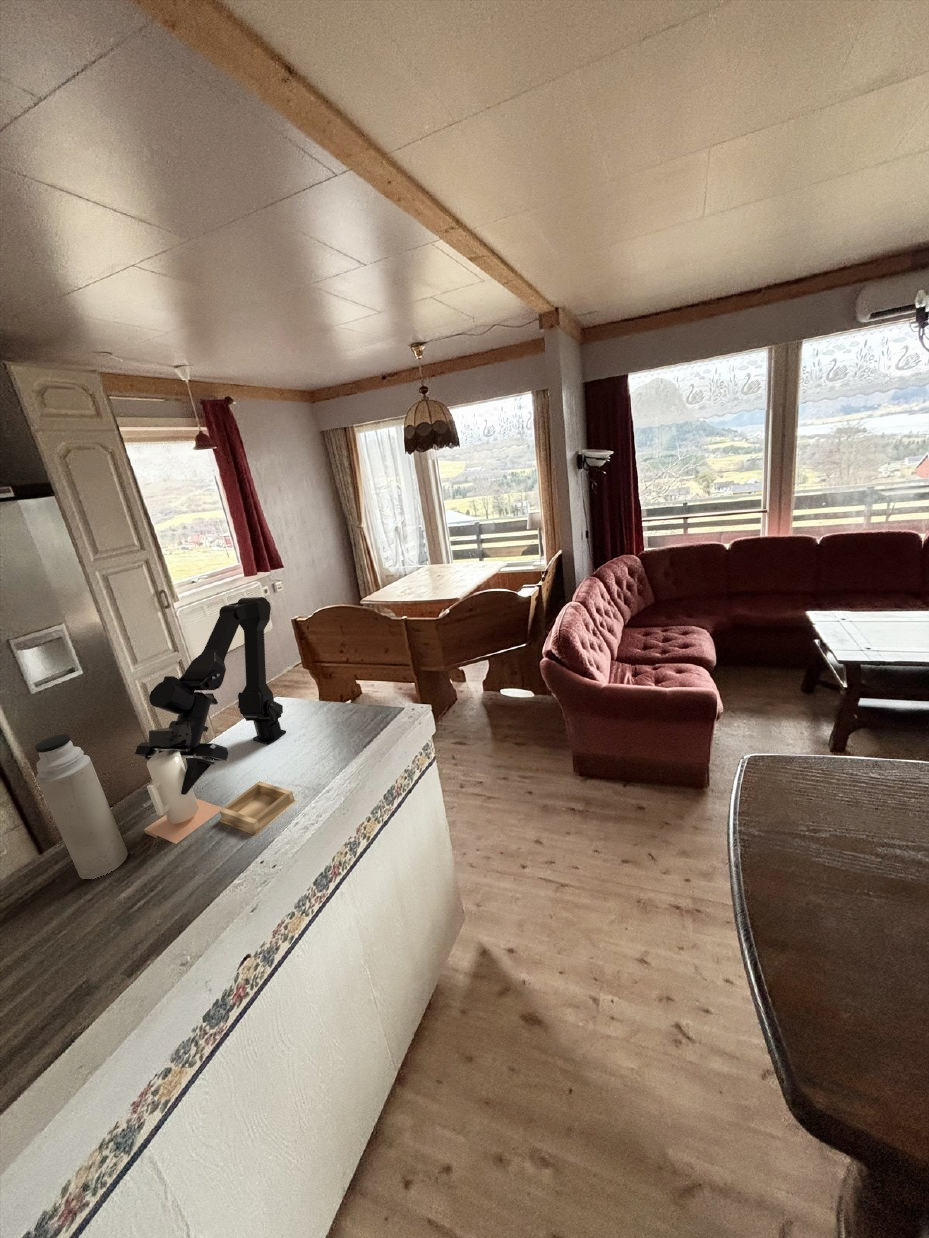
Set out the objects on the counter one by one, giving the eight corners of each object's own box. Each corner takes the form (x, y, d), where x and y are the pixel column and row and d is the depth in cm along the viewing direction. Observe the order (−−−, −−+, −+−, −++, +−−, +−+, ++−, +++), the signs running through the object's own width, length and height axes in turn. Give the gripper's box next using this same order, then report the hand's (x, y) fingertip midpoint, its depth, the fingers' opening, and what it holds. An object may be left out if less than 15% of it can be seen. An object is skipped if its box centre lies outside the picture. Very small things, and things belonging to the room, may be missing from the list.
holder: (220, 824, 104) (216, 811, 103) (263, 792, 114) (259, 779, 113) (257, 839, 99) (253, 825, 98) (298, 803, 108) (295, 790, 107)
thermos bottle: (101, 848, 101) (52, 729, 92) (137, 847, 100) (90, 727, 91) (68, 880, 94) (11, 753, 85) (106, 880, 93) (52, 752, 84)
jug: (181, 803, 109) (161, 749, 104) (204, 804, 108) (186, 749, 103) (153, 830, 102) (130, 773, 97) (178, 831, 100) (157, 774, 96)
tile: (145, 833, 104) (144, 829, 104) (193, 800, 113) (191, 796, 113) (177, 847, 99) (175, 843, 99) (224, 812, 108) (223, 808, 108)
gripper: (126, 710, 104) (99, 787, 97) (204, 710, 100) (181, 790, 94) (165, 722, 114) (143, 794, 107) (237, 723, 110) (219, 797, 103)
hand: (170, 794), depth 103 cm, fingers closed on jug, 6 cm apart
